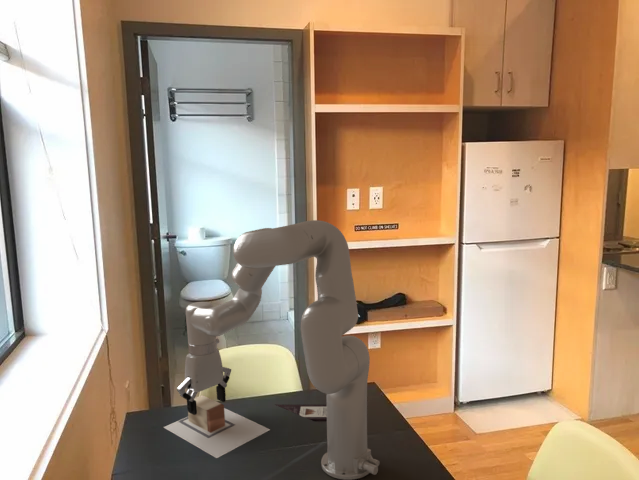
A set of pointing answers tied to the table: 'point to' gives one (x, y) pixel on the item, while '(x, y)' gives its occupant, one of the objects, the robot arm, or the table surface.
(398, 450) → the table surface
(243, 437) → the mat
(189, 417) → the block
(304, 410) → the chocolate bar
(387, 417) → the table surface
